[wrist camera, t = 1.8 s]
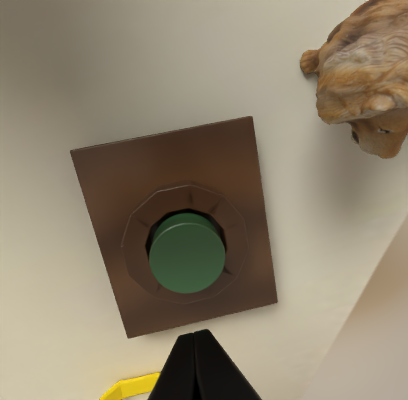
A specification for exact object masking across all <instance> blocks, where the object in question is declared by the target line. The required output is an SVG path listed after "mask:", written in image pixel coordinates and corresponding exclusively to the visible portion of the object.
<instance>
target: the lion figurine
mask: <svg viewBox="0 0 408 400" xmlns="http://www.w3.org/2000/svg"><path fill="white" fill-rule="evenodd" d="M300 67H301V69H302V70H303V71H304V72H305V73H311V72H314V71H315V73H316V74H317V75H318V77H319V79H318V87H317V93H316V96H317V98H318V99H317V102H316V107H317V110H318V115H319V117H321V119H322V120H323V121H324V122H325V123H327V124H329V125H330V124H339V123H345V122H346V123H349V124H351V126H352V135H351V139H352V141H353V142H354V143H357V144H359V145H360V148H361V149H362V150H363V151H365V152H367V153H369V154H374V155H378V156H380V157H381V158H386V159H387V158H393V157H395V156H396V155H397V154H398V152H399V150H400V148H401V145H402V142H403V140H404V139H405V137H406V135H407V133H408V0H369V1H367V2H366V3H364V4H362V5H361V6H360V7H359V8H357V9H356V10H355V11H354V12H353V13H352V14H351V15H350V16H349V17H348V18H347V19H345V20H344V21H343V22H341V23H340V24H339V25H337V26H336V27H335V28H334V30H333V31H332V32H331V33H330V34H329V36H328V39H327V42H325V43H324V44H323V46H322V47H321V48H320V49H318V50H308V51H306V52H305V53H304V54H303V55H302V57H301V60H300Z"/></svg>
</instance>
